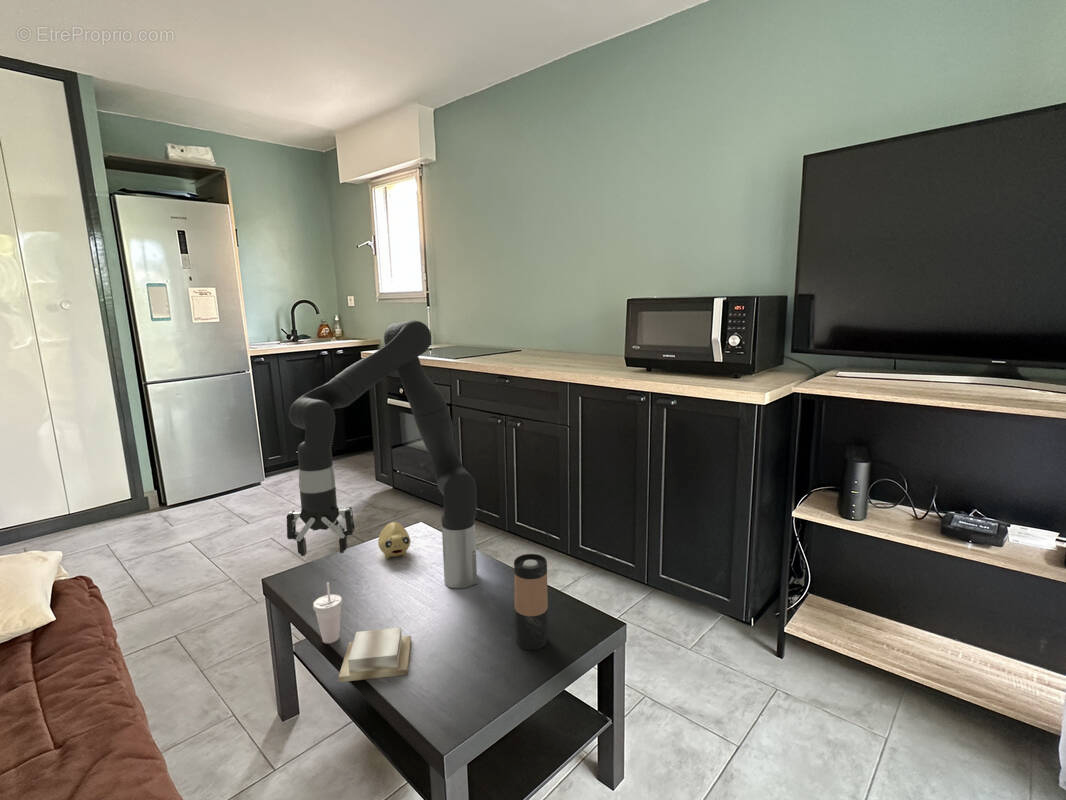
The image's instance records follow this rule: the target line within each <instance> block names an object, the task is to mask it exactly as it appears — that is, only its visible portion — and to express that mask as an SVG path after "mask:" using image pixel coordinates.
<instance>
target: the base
mask: <svg viewBox="0 0 1066 800" xmlns="http://www.w3.org/2000/svg"><path fill="white" fill-rule="evenodd" d="M411 645H412V636H411V635H404V636H402V627H392V628H383V629H381V628H380V629H373V630H363V631H355V636H354V639H353V641H348V645H347V649H346V651H345V654H344V658H343V660H342V661H343V662H342V664H341V668H340V670H339V674H338V682H339V683H342V682H352V681H354V682H355V681H362V680H370V679H379V678H380V679H381V678H387V677H397V676H399V677H400V676H407V675H408V669H409V664H410V663H409V661H410V653H411Z"/></svg>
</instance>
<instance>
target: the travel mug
mask: <svg viewBox="0 0 1066 800" xmlns="http://www.w3.org/2000/svg"><path fill="white" fill-rule="evenodd" d="M513 569H514V570H513V573H514V576H513V577H514V579H513V580H514V584H513V585H514V619H515V633H516V634H515V635H516V644H517V643H518V644H517V645H518V646H519V647H520V648H521V649H523V648H524V649H523V650H526V649H528V650H527V651H534V650H533V649H537V650H540V649H542V648H544V647H545V646H546V645H547V643H546V642H548V622H549V621H548V617H549V613H548V612H549V606H548V605H549V603H548V598H549V597H548V561H547V558H546V557H544V556H542V555H540V554H536V553H527V554H522V555H519V556H518V557H516V558H515V559H514V562H513ZM544 645H545V646H544ZM543 646H544V647H543ZM541 647H542V648H541ZM539 648H540V649H539ZM530 649H531V650H530Z"/></svg>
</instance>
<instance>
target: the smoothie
mask: <svg viewBox="0 0 1066 800" xmlns="http://www.w3.org/2000/svg"><path fill="white" fill-rule="evenodd" d="M326 592H327V593H326V595H323V596H320V597H318V598H317V599H315V600H314V601H313V606H312V609H313V610H314V612H315V615H316V620H317V624H318V627H319V631H320V635H321V640H322V642H323V643H324V644H332V643H335V642H337V641H338V640H339V638H340V628H341V626H340V625H341V609H342V608H341V606H342V605H343V600H342V599H343V598H342V597H341V596H340V594H332V593H331V590H330V582H328V581H327V582H326Z"/></svg>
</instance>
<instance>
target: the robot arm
mask: <svg viewBox="0 0 1066 800" xmlns="http://www.w3.org/2000/svg"><path fill="white" fill-rule="evenodd" d="M383 341H384V346H383V347H381V348H379V349H377V350H376V351H374V352H373V353H370V354H369V355H368V356H365V357H364V358H362V359H359V360H358V361H356V362H354V363H352V364H351V365H349V366H348V367H346V368H345V369H343V370H342V371H340V372H339V373H338V374H336V375H335V376H334V377H333V378H331V379H330V380H329V381H327V382H326V383H324V384H323V385H320V386H317V387H316V388H314V389H312V390H310V391H308V392H306V393H304V394H302V395H301V396H300V397H298V398H297V399H296V400H294V401H293V403H292V404H291V406H290V407H289V411H288V419H289V422H290V423H291V424H292V425H293V426H294V427H296V428H298V429H302V430H305V431H304V432H305V435H304V441H302V442H300V443H299V445H298V447H297V460H298V488H299V496H300V498H299V499H300V507H301V511H295V510H290V511H289V512H288V514H287V515H286V536H287V539H288V540H294V541H296V544H297V553H298V554H299V555H300V556H301V557H305V556H306V555H307V551H308V550H307V541H306V539H307V538H306V537H305V535H306V534H307V533H308V531H309V530H312V531H319V530H322V531H324V530H326V531H327V530H328V529H330V531H332V533H335V534H336V535H337V536H338V543H339V544H338V546H339V553H340V554H344V552H345V551H346V550H347V549H348V536H352V535H353V533H354V531H355V528H356V527H355V519H354V514H353V508H352V506H347V507H346V508H342V509H340V508H339V506H338V500H337V488H336V476H335V469H334V465H333V451H332V445H333V442H334V434H335V428H336V414H335V411H334V410H336V409H342V408H346V407H348V406H350V405H351V404H353V403H354V402H355V401H356V400H357V399H359V398H360V397H361V396H362V395H364V394H365V393H366V392H368V390H370V389H371V388H372V387H373V386H375V385H376V384H377V383H378V382H380V381H381V380H383V379H384V378H385V377H387V376H388V375H390V374H391V373H392V372H394V371H395V370H396V372H397V375H398V377H399V379H400V382H401V384H402V385H401V386H402V387H403V390H404V393H405V396H406V398H407V401H408V404H409V406H410V410H411V412H412V416H413V419H414V421H415V424H416V427H417V429H418V433H419V434H420V437H421V439H422V441H423V444H424V445H425V448H426V450H427V452H428V455H429V457H430V460H431V463H432V468H433V472H434V476H435V482H436V485H437V489H438V490H439V492H440V493H441V495H442V496H443V514H442V515H441V518H440V519H441V537H442V539H441V540H442V555H443V557H442V558H443V559H442V560H443V577H444V580H443V581H444V584H445V585H446V586H447V587H448V588H451V589H466V588H469V587H471V586H474V585H478V564H477V548H476V523H475V521H476V516H477V511H478V510H477V508H478V507H477V499H478V498H477V496H478V495H477V494H478V493H477V483H476V479H475V477H474V476H472V475H471V473H469V472H468V471H467V470H466V468H465V467H464V465H463V464H462V461H461V459H460V457H459V454H458V452H457V449H456V446H455V441H454V428H453V420H452V417H451V413H450V410H449V408H448V407H449V406H448V404H447V402H446V400H445V398H444V396H443V394H442V393H441V391H440V390H439V388H438V387H437V386H436V384H434V382H433V381H432V380H431V379H430V378H429V377H428V375H427V374H426V372H425V371H424V368H423V366H422V363H421V361H420V356H421V355H423V354H425V353H426V352H427V351H428V349H429V348H430V346H431V343H432V334H431V330H430V329H429V326H428V325H426V324H425V323H424V322H422V321H419V320H415V319H414V320H406V321H399V322H394V323H391V324H389V325H388V326H387V328H386V329H385V331H384V336H383ZM339 516H341V518H342V519H344V520H345V525H346V528H345V527H344V526H343V525H342V523H341V521H340V520H339V519H338V517H339ZM299 518H300V520H301V521H302V522H303V523H305V524H304V526H303V527H302V528H301V530H300V531H297V526H296V525H297V521H298V520H299Z"/></svg>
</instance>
